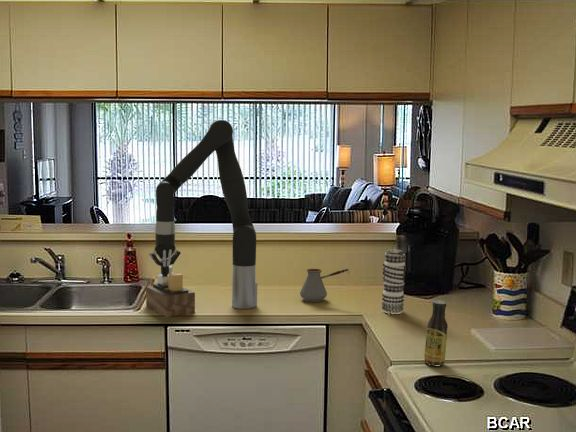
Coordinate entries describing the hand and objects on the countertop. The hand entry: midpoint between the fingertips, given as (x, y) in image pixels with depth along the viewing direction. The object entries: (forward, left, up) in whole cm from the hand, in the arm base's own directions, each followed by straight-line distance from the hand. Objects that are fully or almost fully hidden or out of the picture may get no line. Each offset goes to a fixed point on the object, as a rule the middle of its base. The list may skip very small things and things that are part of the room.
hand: (165, 275), depth 264 cm
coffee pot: (-60, +27, -13) cm, 67 cm away
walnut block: (0, +5, -13) cm, 14 cm away
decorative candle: (-73, +54, -13) cm, 91 cm away
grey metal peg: (0, 0, -8) cm, 8 cm away
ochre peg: (0, +9, -6) cm, 11 cm away
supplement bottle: (-8, -14, -13) cm, 21 cm away
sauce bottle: (-41, +104, -13) cm, 112 cm away
